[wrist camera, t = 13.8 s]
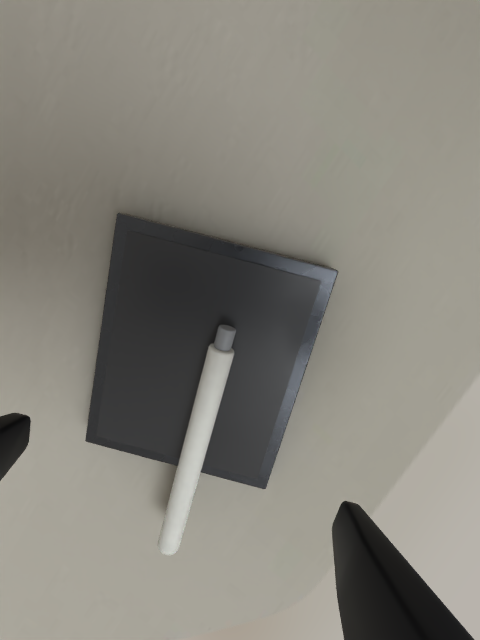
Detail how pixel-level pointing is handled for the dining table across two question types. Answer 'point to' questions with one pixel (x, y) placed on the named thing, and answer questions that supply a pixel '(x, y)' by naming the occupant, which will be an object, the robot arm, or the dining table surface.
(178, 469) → the stylus
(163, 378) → the tablet
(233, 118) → the dining table surface
